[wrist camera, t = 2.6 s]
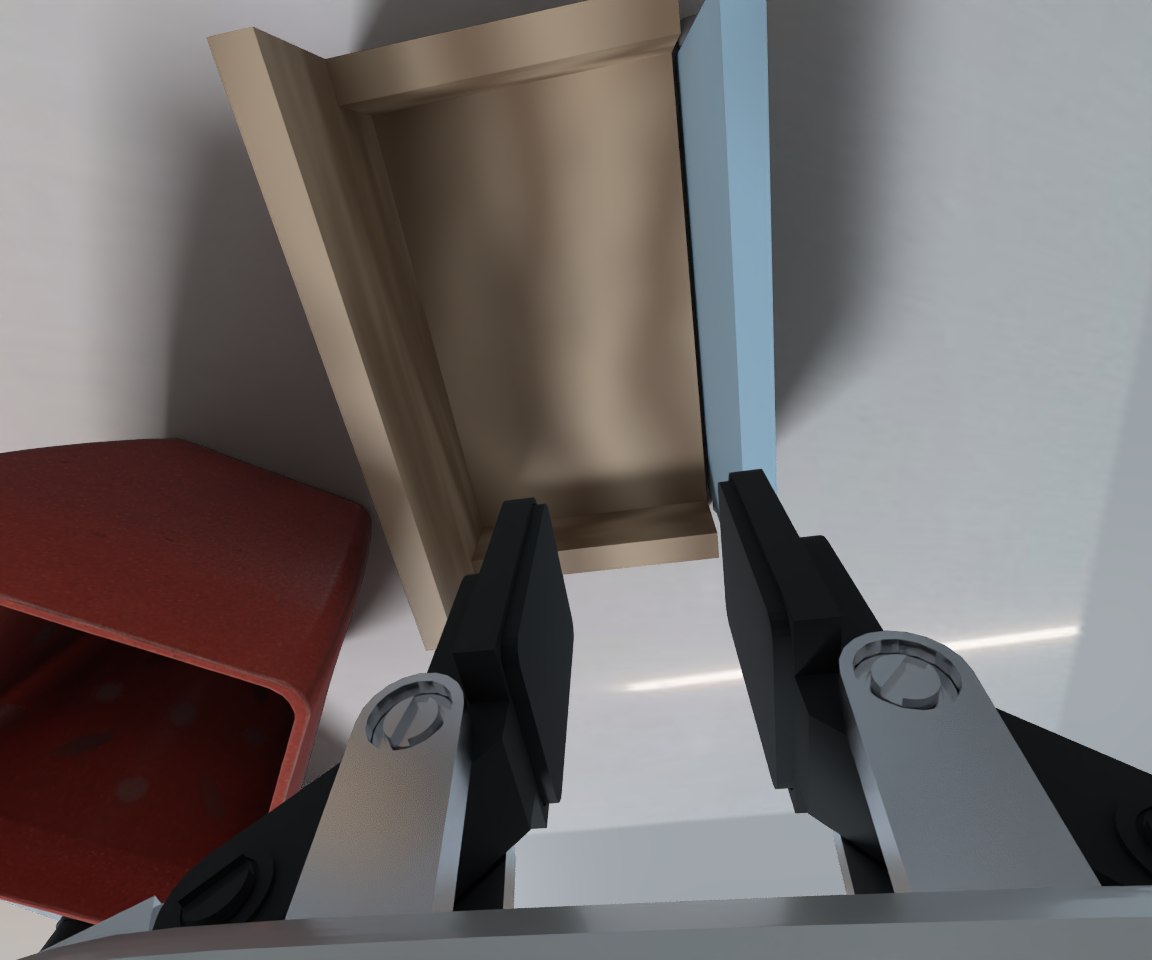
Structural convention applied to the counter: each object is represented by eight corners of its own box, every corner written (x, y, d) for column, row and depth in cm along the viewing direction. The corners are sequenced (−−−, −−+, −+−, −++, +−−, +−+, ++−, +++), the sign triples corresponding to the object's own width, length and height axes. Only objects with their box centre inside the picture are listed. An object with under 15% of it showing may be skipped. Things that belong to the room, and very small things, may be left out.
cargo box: (707, 8, 25) (763, -93, 16) (735, 506, 35) (779, 616, 26) (341, 87, 27) (206, 37, 18) (470, 538, 37) (426, 650, 28)
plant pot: (111, 358, 33) (-309, 502, 18) (439, 480, 35) (313, 698, 20) (101, 608, 41) (-193, 853, 26) (368, 694, 44) (240, 963, 28)
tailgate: (704, 51, 25) (765, -36, 15) (730, 487, 34) (779, 608, 24) (675, 57, 25) (718, -26, 15) (709, 490, 34) (749, 612, 24)
